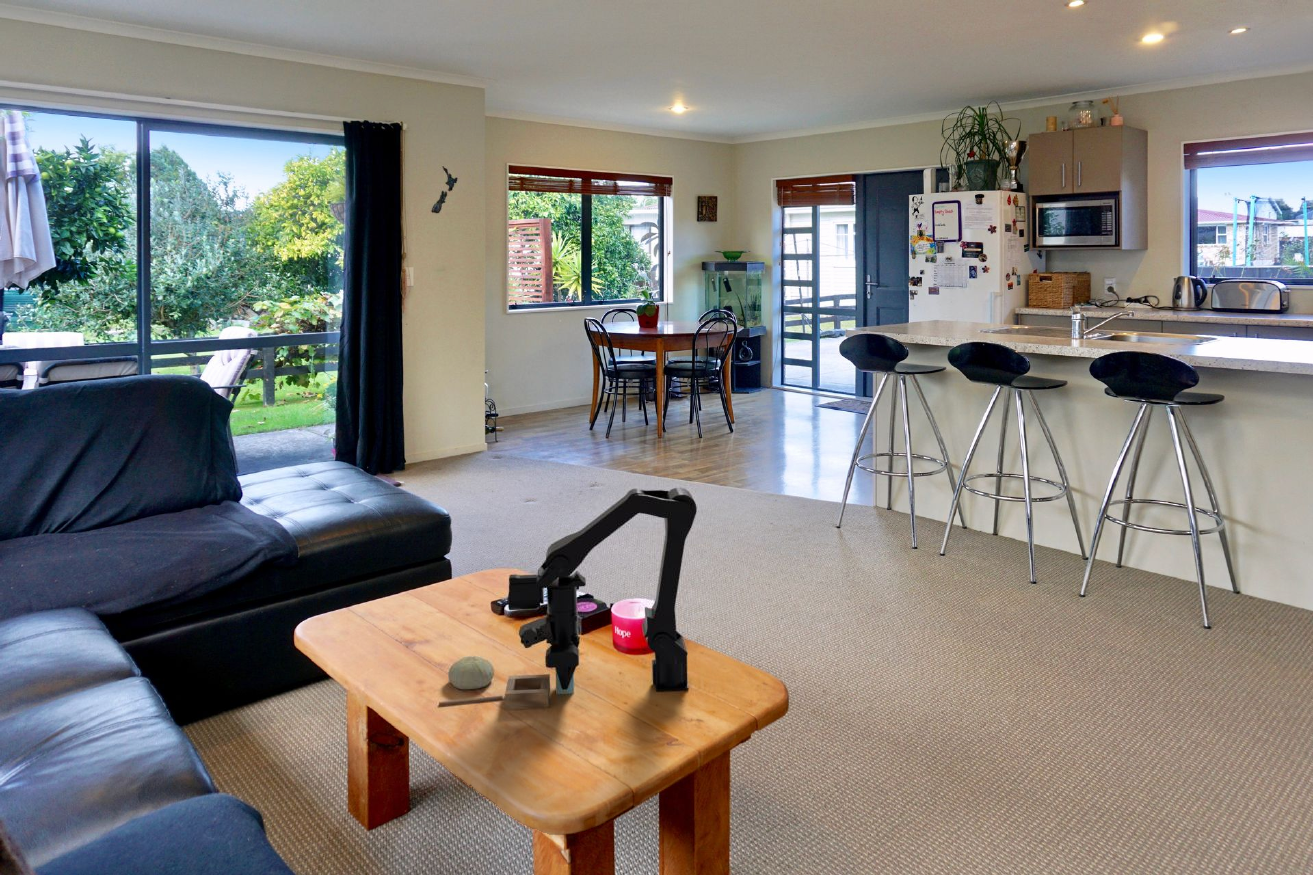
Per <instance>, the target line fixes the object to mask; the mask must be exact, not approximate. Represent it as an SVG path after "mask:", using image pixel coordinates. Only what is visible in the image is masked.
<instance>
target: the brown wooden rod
mask: <svg viewBox="0 0 1313 875" xmlns="http://www.w3.org/2000/svg"><path fill="white" fill-rule="evenodd" d="M503 698H504V697H503V695H495V696H493V695H492V696H486V697H485V696H483V697H476V698H475V697H474V698H467V699H466V698H465V699H456V700H455V699H454V700H445V701H439V702H438V706H440V707H442V706H451V705H462V704H469V703H480V702H489V701H498V700H504V699H503Z"/></svg>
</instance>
